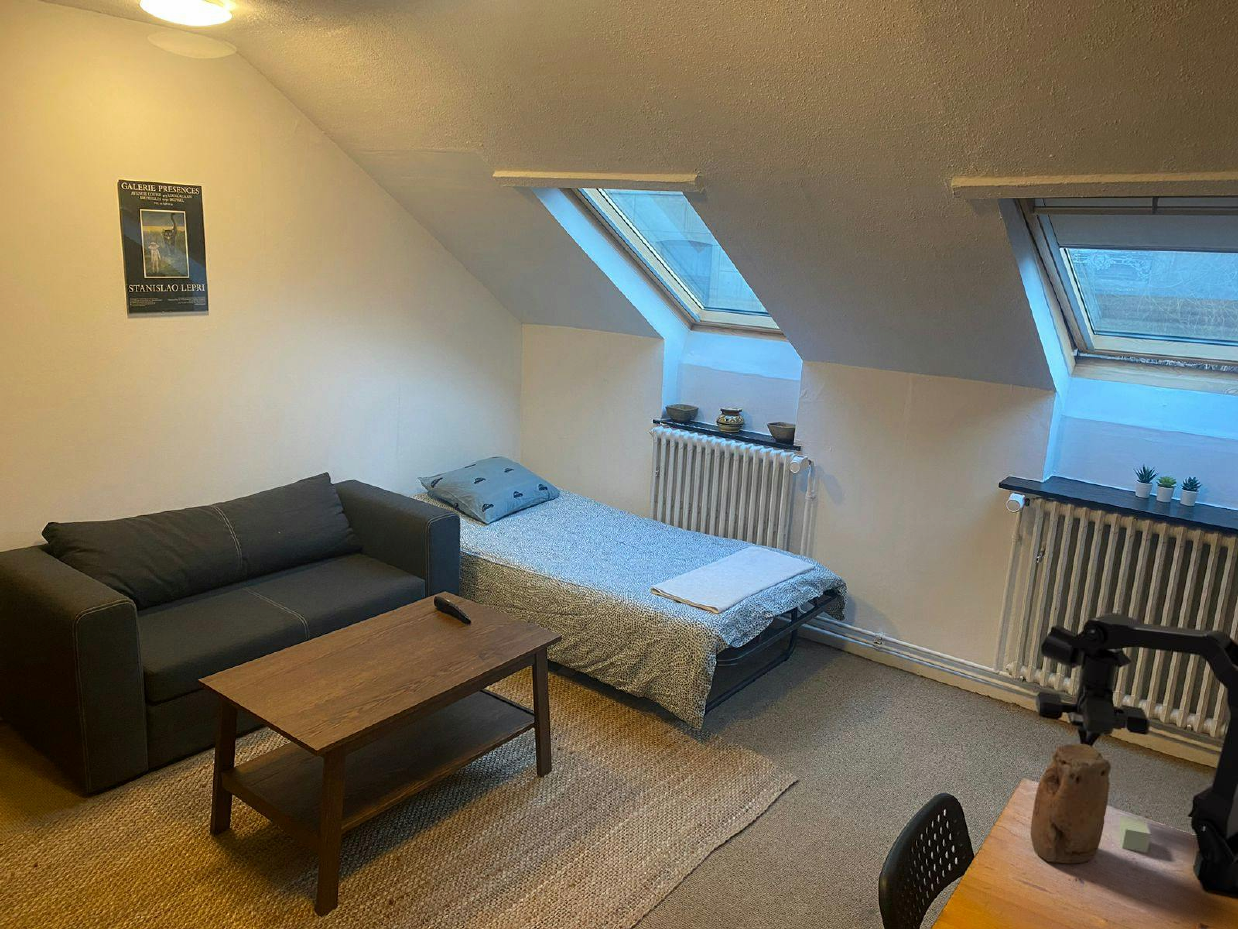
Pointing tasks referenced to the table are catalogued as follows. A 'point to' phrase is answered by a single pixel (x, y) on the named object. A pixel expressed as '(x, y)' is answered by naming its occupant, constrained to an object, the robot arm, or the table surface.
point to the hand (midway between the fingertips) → (1083, 752)
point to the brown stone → (1071, 805)
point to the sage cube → (1134, 834)
